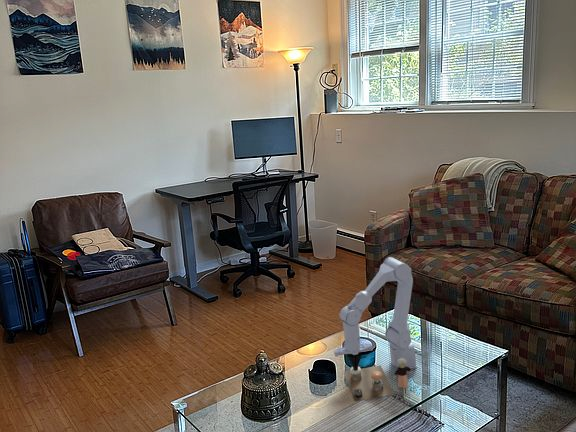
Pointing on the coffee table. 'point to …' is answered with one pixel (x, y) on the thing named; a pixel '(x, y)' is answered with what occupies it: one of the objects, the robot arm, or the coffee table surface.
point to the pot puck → (357, 392)
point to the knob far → (355, 371)
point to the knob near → (376, 376)
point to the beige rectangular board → (369, 384)
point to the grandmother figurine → (402, 373)
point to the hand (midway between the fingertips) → (355, 369)
